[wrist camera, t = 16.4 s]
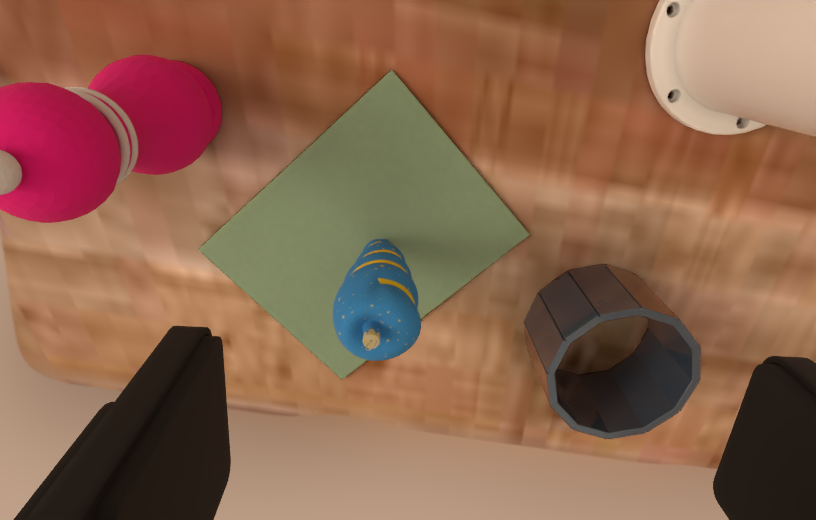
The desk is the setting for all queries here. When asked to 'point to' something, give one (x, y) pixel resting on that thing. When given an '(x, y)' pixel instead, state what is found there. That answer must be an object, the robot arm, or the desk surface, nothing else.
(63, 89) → the pepper mill
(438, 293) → the mat
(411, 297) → the ornament
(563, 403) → the crock
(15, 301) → the desk surface
